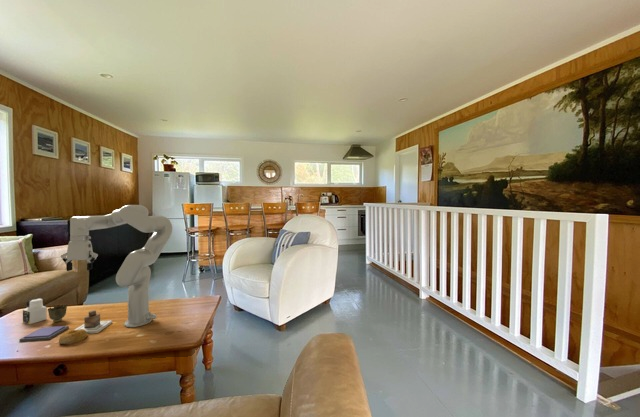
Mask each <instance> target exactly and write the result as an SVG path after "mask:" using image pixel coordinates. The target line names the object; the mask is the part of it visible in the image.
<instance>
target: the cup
mask: <svg viewBox="0 0 640 417" xmlns="http://www.w3.org/2000/svg"><path fill="white" fill-rule="evenodd" d="M67 308H68V305H66V304H64V305H63V304H62V305H59V304H58V305H54V306H53V307H49V308H48V307H47V314H48V318H49V319H50V320H51V321H52V323H56V324H57V323H60V322H62V321H63V318H64V317H65V316H66V315H67Z"/></svg>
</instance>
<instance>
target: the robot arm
mask: <svg viewBox="0 0 640 417" xmlns="http://www.w3.org/2000/svg"><path fill="white" fill-rule="evenodd" d="M149 214H150V213H149V209H148V208H147V207H146V206H144V205H142V204H127V205H124V206H122V207H121V208H119V209H115V210H113V211H112V213H109V214H105V215H81V216H80V215H76V216H75V215H73V216H72V217H70V219H69V224H70V225H69V234H70V236H69V241H68V245H67V251H66V252H65V253H63V254H60V257H61V259H62V262H64V264H65V265H66V272H70V271H72V270H73V261H86V262H87V263H86V271H91V270H92V269H94V262H95V260H97V257H98V256H99V254H98V253H96V252H94V251H93V244H92V242H91V239H92V237H91V236H90V231H94V230H102V229H109V228H114V227H118V226H123V225H126V224H128V225H129V226H131V227H133V228H134V229H136V230H137V231H139V232H141V233H147V234H148V233H152V235H151V236H149V238H148V239H147V241H146V243H145V245H144V246H143V247H142V248H139V249H136V250H134V251H131V252H129V253H128V255H127V256H126V257H125V259H124V261H123V262H122V264H121V266H120V267H119V269H118V270H117V273H116V275H115V282H116V285H118V286H119V287H120V288H121V287H122V288H127V287H128V289H127V319H126V320H125V322H124V323H123V325H124V327H126V328H137V327H141V326H145V325H147V324H149V323H150V322H152V321H153V320H156V319H157V317H158V316H157V314H156V313H152V312H151V311H150V303H149V302H150V299H149V298H150V281H151V274H152V271H151V270H152V269H151V267H150V266H151V265H153V264H155V263H156V262H157V260H158V258H159V257H160V255H161V253H162V251H163V249H164V248H165V246H166V244H167V243H168V241H169V239H170V237H171V236H172V233H173V224H172V222H171V220H170V219H169V218H168V217H167V216H164V215H149Z"/></svg>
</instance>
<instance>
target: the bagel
mask: <svg viewBox="0 0 640 417" xmlns="http://www.w3.org/2000/svg"><path fill="white" fill-rule="evenodd" d="M88 335H89V334H88V333H87V331H85V330H83V329H80V330H75V329H73V330H69V331H67V332H64V333H61V335H60V336H59V339H58V343H59V344H62V345H73V344H76V343H78V342H81V341H83V340H85V339H86V338H87V337H88Z"/></svg>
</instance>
